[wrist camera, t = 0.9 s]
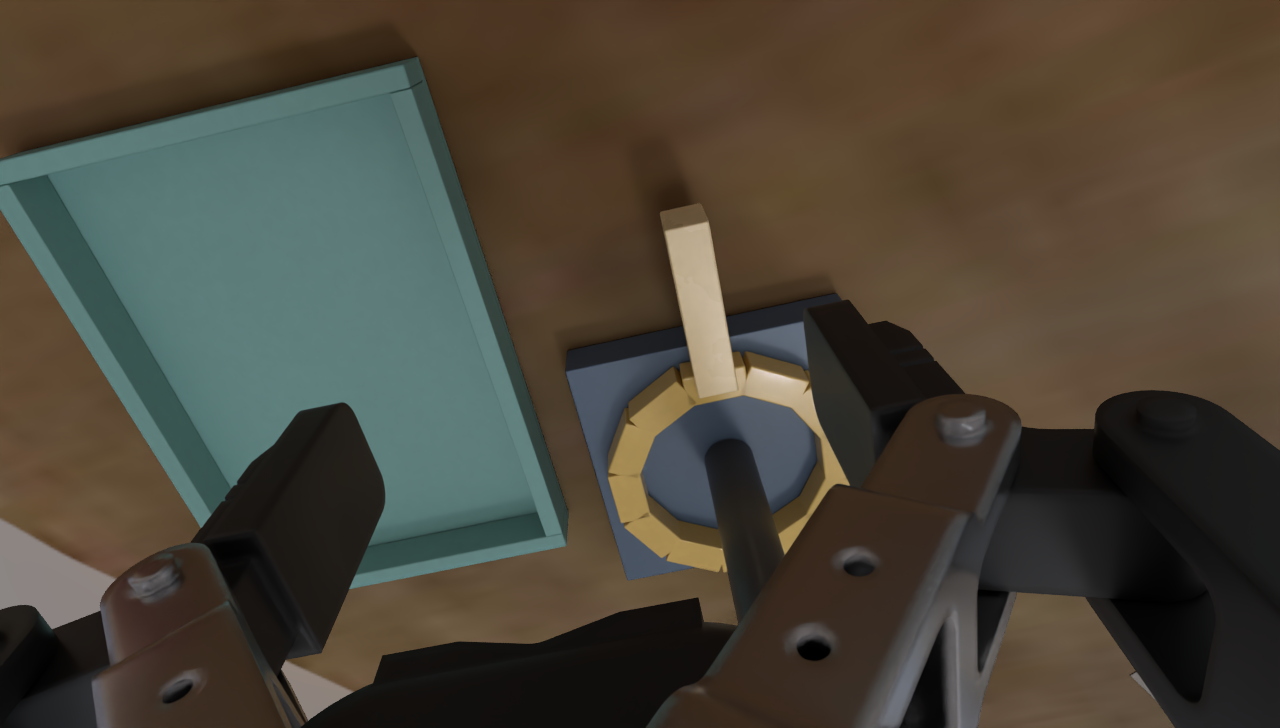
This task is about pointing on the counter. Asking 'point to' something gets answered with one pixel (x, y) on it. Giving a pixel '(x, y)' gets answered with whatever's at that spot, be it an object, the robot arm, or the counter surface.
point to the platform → (1141, 682)
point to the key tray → (300, 305)
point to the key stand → (705, 444)
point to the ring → (699, 383)
